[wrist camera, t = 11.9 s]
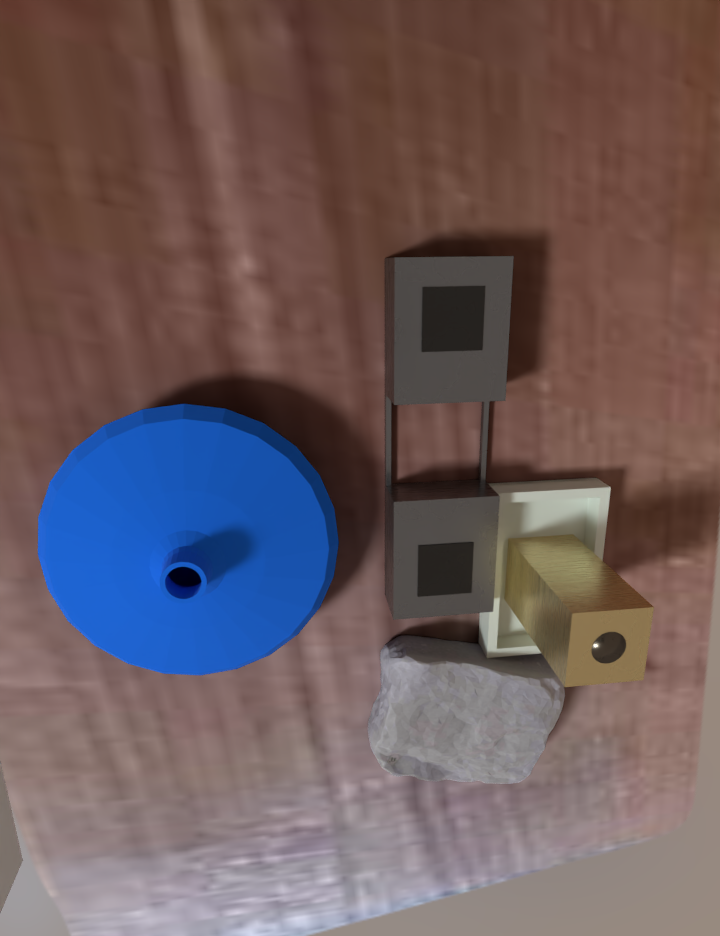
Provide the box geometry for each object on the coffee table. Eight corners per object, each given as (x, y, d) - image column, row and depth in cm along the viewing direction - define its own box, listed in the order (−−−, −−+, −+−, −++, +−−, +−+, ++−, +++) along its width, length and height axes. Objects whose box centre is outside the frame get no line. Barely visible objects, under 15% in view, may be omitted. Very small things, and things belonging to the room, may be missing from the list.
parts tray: (486, 483, 38) (496, 493, 37) (596, 477, 39) (610, 487, 38) (478, 642, 42) (487, 657, 40) (579, 633, 43) (592, 648, 41)
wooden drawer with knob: (508, 538, 39) (572, 613, 31) (573, 534, 40) (654, 607, 31) (504, 598, 41) (564, 687, 32) (567, 594, 41) (643, 680, 33)
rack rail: (384, 258, 34) (395, 257, 31) (494, 256, 35) (514, 256, 32) (385, 594, 40) (393, 620, 37) (478, 587, 41) (493, 612, 38)
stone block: (510, 740, 47) (558, 640, 43) (528, 801, 43) (583, 697, 38) (353, 723, 46) (385, 616, 41) (356, 784, 41) (392, 673, 37)
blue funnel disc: (114, 677, 39) (82, 760, 32) (8, 437, 34) (-55, 476, 28) (361, 605, 40) (379, 671, 33) (292, 361, 35) (298, 380, 28)
